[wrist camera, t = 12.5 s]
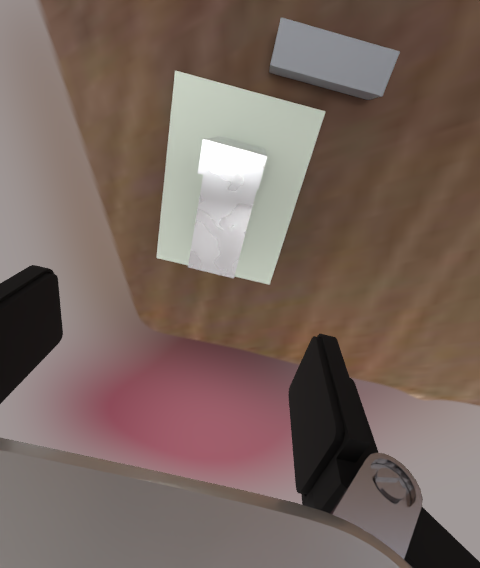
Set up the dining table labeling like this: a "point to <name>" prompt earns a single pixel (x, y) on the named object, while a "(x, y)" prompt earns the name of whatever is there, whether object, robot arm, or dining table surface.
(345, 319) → the dining table surface
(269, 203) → the mat
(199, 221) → the white pedestal stand
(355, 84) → the vise jaws
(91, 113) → the dining table surface
